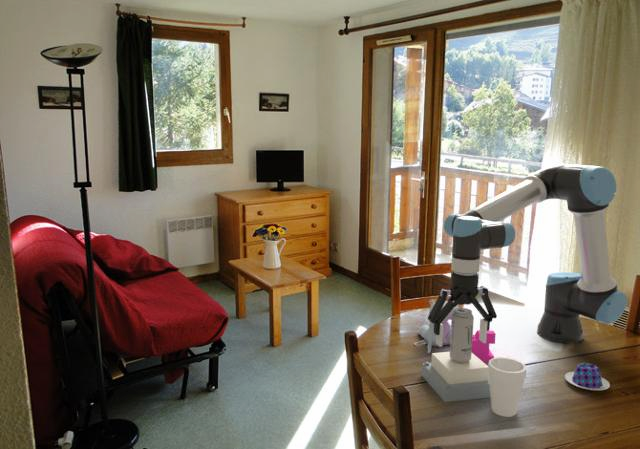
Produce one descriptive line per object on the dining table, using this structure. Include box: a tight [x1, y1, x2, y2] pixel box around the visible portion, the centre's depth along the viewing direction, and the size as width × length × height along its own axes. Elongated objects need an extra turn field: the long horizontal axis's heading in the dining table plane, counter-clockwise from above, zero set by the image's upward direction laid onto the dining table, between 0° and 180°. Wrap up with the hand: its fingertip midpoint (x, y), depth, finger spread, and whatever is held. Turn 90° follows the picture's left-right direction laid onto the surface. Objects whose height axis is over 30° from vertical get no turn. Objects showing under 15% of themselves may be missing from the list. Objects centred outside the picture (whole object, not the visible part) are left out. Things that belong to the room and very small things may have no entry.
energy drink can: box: [449, 307, 475, 364], centre depth 149 cm, size 6×6×15 cm
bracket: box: [472, 329, 496, 364], centre depth 172 cm, size 12×10×10 cm
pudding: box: [564, 362, 611, 391], centre depth 154 cm, size 12×12×5 cm
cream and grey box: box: [421, 351, 491, 403], centre depth 151 cm, size 16×16×8 cm
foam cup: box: [487, 356, 527, 418], centre depth 137 cm, size 10×9×13 cm
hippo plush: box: [413, 299, 460, 355], centre depth 182 cm, size 15×19×15 cm
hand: (461, 343), depth 149 cm, fingers open, 13 cm apart
